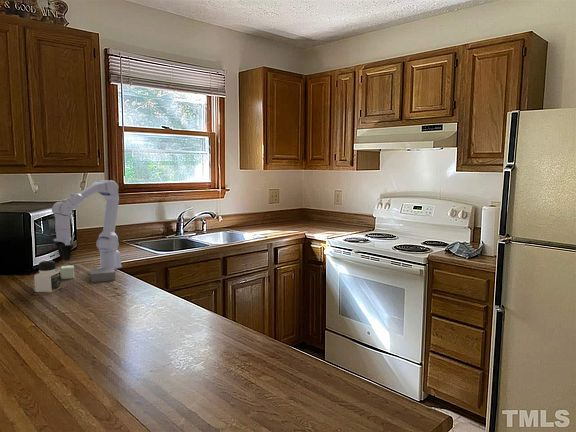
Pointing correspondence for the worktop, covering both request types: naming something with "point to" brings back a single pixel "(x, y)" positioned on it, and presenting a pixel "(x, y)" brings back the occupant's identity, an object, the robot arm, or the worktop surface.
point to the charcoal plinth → (102, 274)
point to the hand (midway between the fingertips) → (64, 258)
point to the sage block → (67, 272)
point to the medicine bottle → (47, 277)
